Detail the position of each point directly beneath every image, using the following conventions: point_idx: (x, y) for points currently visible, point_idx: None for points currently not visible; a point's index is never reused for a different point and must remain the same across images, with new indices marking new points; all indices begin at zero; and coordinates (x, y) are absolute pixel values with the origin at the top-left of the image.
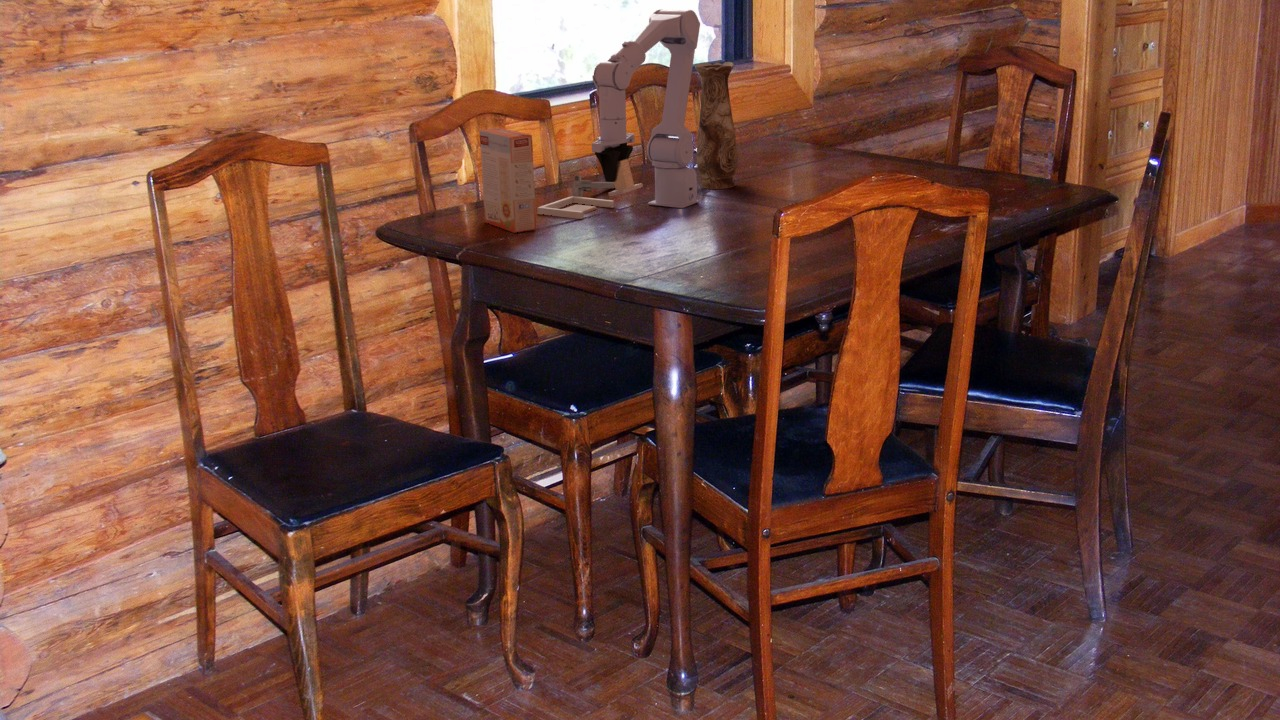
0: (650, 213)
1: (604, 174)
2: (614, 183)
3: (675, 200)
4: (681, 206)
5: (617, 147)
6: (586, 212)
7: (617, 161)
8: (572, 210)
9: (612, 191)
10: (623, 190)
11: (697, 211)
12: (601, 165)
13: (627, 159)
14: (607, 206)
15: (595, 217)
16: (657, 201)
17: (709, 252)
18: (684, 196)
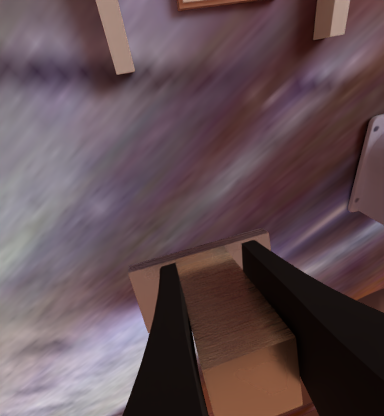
0: (286, 190)
1: (159, 296)
2: (181, 284)
3: (372, 195)
4: (350, 210)
5: None
6: (207, 6)
7: (262, 376)
8: (115, 2)
9: (159, 264)
10: (149, 330)
11: (332, 242)
12: (143, 359)
13: (297, 403)
14: (317, 14)
15: (171, 101)
16: (379, 143)
17: (114, 408)
18: (377, 221)
